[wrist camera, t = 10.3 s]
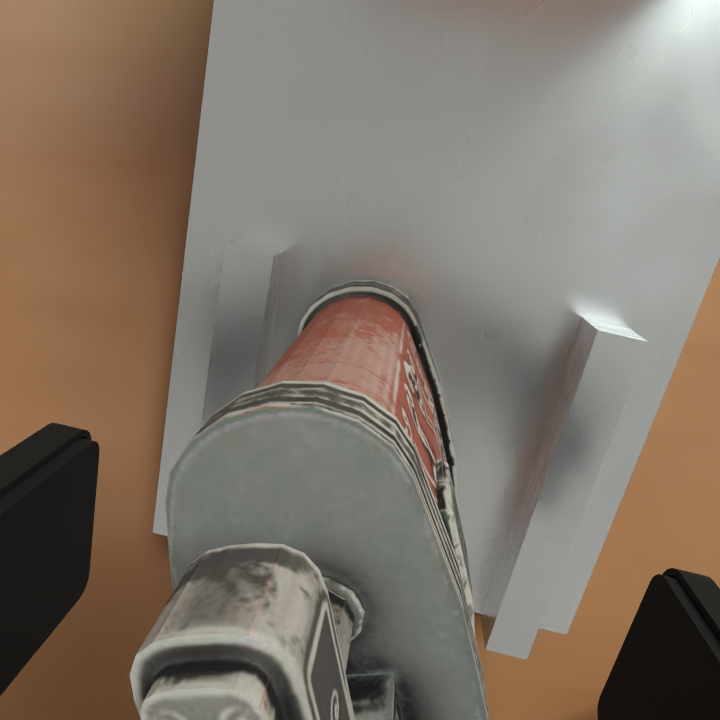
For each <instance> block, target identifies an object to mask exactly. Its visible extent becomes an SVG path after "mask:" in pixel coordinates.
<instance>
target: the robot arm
mask: <svg viewBox="0 0 720 720" xmlns="http://www.w3.org/2000/svg"><path fill="white" fill-rule="evenodd" d="M98 462H99V445H98V443H97V442H95V441H91V435H90V433H89V432H88V431H87V430H83V429H78V428H74V427H70V426H66V425H61V424H57V423H51V424H49V425H47V426H45V427H44V428H42V429H41V430H39V431H37V432H36V433H34V434H33V435H31V436H30V437H28V438H27V439H25V440H24V441H22V442H20V443H19V444H17V445H16V446H14V447H13V448H11V449H10V450H8V451H7V452H5V453H4V454H2V455H0V696H1V694H2V693H3V692H4V691H5V690H6V688H7V687H8V686H9V685H10V683H11V682H12V681H13V680H14V678H15V677H16V676H17V675H18V674H19V672H20V671H21V670H22V669H23V667H24V666H25V665H26V664H27V662H28V661H29V660H30V659H31V657H32V656H33V655H34V654H35V653H36V651H37V650H38V649H39V648H40V646H41V645H42V644H43V643H44V641H45V640H46V639H47V638H48V637H49V635H50V634H51V633H52V632H53V630H54V629H55V628H56V627H57V625H58V624H59V623H60V622H61V621H62V619H63V618H64V617H65V616H66V614H67V613H68V612H69V611H70V609H71V608H72V607H73V606H74V605H75V603H76V602H77V601H78V600H79V598H80V597H81V595H82V593H83V592H84V590H85V587H86V585H87V582H88V578H89V570H90V558H91V546H92V534H93V522H94V510H95V498H96V486H97V474H98ZM598 720H720V589H719V587H718V586H717V585H716V583H715V582H714V581H713V580H712V579H711V578H710V577H707V576H704V575H700V574H695V573H691V572H687V571H683V570H678V569H674V568H670V569H667V570H666V571H665V572H664V573H663V574H662V575H660V574H658V575H655V576H654V577H653V578H652V580H651V581H650V584H649V586H648V588H647V590H646V593H645V595H644V597H643V600H642V602H641V604H640V606H639V609H638V611H637V613H636V616H635V618H634V620H633V622H632V625H631V627H630V629H629V632H628V634H627V636H626V638H625V641H624V643H623V645H622V648H621V650H620V652H619V654H618V657H617V659H616V661H615V664H614V666H613V668H612V671H611V673H610V675H609V677H608V680H607V682H606V684H605V687H604V689H603V691H602V693H601V696H600V699H599V702H598Z"/></svg>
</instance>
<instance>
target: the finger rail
mask: <svg viewBox="0 0 720 720" xmlns="http://www.w3.org/2000/svg"><path fill="white" fill-rule="evenodd" d="M719 257H720V0H214V4H213V13H212V21H211V30H210V39H209V47H208V56H207V65H206V74H205V82H204V91H203V100H202V108H201V117H200V126H199V134H198V143H197V152H196V160H195V169H194V178H193V186H192V195H191V204H190V212H189V221H188V230H187V239H186V247H185V256H184V265H183V273H182V282H181V291H180V299H179V308H178V317H177V325H176V334H175V343H174V351H173V360H172V369H171V377H170V386H169V395H168V404H167V412H166V421H165V430H164V438H163V447H162V456H161V464H160V473H159V482H158V490H157V499H156V508H155V516H154V525H153V533H156V534H160V535H165V536H168V535H167V524H166V512H165V499H166V492H167V486H168V479H169V472H170V470H171V468H172V467H173V465H174V464H175V462H176V461H177V459H178V458H179V456H180V455H181V453H182V452H183V450H184V449H185V447H186V446H187V444H188V443H189V441H190V440H191V439H192V438H193V437H194V436H195V434H196V433H197V432H198V431H199V430H200V429H201V428H202V427H203V426H204V424H205V423H206V422H207V421H208V420H209V419H210V418H211V417H212V416H213V414H214V413H215V412H217V411H218V410H220V409H221V408H223V407H224V406H225V405H227V404H228V403H230V402H231V401H233V400H234V399H236V398H237V397H238V396H240V395H241V394H243V393H244V392H246V391H250V390H253V389H256V388H257V387H258V386H259V384H260V383H261V382H262V381H263V379H264V378H265V377H266V376H267V374H268V373H269V372H270V371H271V369H272V368H273V367H274V366H275V364H276V363H277V362H278V361H279V360H280V358H281V357H282V356H283V355H284V353H285V352H286V351H287V350H288V348H289V347H290V346H291V345H292V343H293V342H294V341H295V340H296V338H297V335H298V330H299V325H300V322H301V320H302V319H303V317H304V316H305V314H306V313H307V311H308V310H309V308H310V307H311V306H312V304H313V303H314V302H315V301H316V300H317V299H318V298H319V297H320V296H322V295H323V294H325V293H326V292H327V291H329V290H330V289H332V288H333V287H335V286H338V285H342V284H345V283H348V282H351V281H376V282H379V283H383V284H386V285H389V286H392V287H394V288H395V289H397V290H398V291H399V292H401V293H402V294H403V295H405V296H406V297H407V298H409V300H410V301H411V303H412V305H413V306H414V308H415V309H416V311H417V313H418V315H419V318H420V321H421V324H422V327H423V329H424V332H425V335H426V338H427V341H428V344H429V347H430V350H431V352H432V355H433V358H434V361H435V364H436V367H437V370H438V373H439V375H440V380H441V384H442V389H443V394H444V398H445V403H446V408H447V413H448V417H449V422H450V427H451V431H452V436H453V442H454V449H455V458H456V477H457V496H458V510H459V515H460V519H461V524H462V529H463V533H464V538H465V542H466V547H467V555H468V563H469V571H470V579H471V587H472V595H473V603H474V612H476V613H480V615H481V622H482V629H483V636H484V644H485V650H489V651H493V652H497V653H501V654H505V655H509V656H513V657H517V658H521V659H525V660H527V658H528V655H529V653H530V650H531V648H532V645H533V642H534V640H535V637H536V635H537V632H538V629H539V628H541V629H545V630H549V631H553V632H557V633H561V634H565V635H567V633H568V630H569V628H570V625H571V623H572V620H573V618H574V615H575V613H576V611H577V608H578V606H579V603H580V601H581V598H582V596H583V593H584V591H585V588H586V586H587V583H588V581H589V578H590V576H591V573H592V571H593V569H594V566H595V564H596V561H597V559H598V556H599V554H600V551H601V549H602V546H603V544H604V541H605V539H606V536H607V534H608V532H609V529H610V527H611V524H612V522H613V519H614V517H615V514H616V512H617V509H618V507H619V504H620V502H621V499H622V497H623V494H624V492H625V490H626V487H627V485H628V482H629V480H630V477H631V475H632V472H633V470H634V467H635V465H636V462H637V460H638V457H639V455H640V452H641V450H642V448H643V445H644V443H645V440H646V438H647V435H648V433H649V430H650V428H651V425H652V423H653V420H654V418H655V415H656V413H657V410H658V408H659V406H660V403H661V401H662V398H663V396H664V393H665V391H666V388H667V386H668V383H669V381H670V378H671V376H672V373H673V371H674V368H675V366H676V364H677V361H678V359H679V356H680V354H681V351H682V349H683V346H684V344H685V341H686V339H687V336H688V334H689V331H690V329H691V326H692V324H693V322H694V319H695V317H696V314H697V312H698V309H699V307H700V304H701V302H702V299H703V297H704V294H705V292H706V289H707V287H708V284H709V282H710V280H711V277H712V275H713V272H714V270H715V267H716V265H717V262H718V260H719Z"/></svg>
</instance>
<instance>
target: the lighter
mask: <svg viewBox="0 0 720 720" xmlns="http://www.w3.org/2000/svg"><path fill="white" fill-rule="evenodd" d="M165 512H166V524H167V535H168V547H169V559H170V570H171V582H172V593H173V594H172V596H171V598H170V599H169V601H168V603H167V604H166V606H165V608H164V609H163V611H162V612H161V614H160V616H159V617H158V619H157V621H156V622H155V624H154V626H153V627H152V629H151V631H150V632H149V634H148V636H147V637H146V639H145V641H144V642H143V644H142V646H141V647H140V649H139V650H138V652H137V654H136V656H135V659H134V662H133V665H132V669H131V672H130V680H131V686H132V691H133V697H134V702H135V705H136V707H137V710H138V713H139V716H140V719H141V720H489V717H488V709H487V701H486V693H485V685H484V677H483V671H482V666H481V662H480V657H479V653H478V648H477V644H476V639H475V624H474V603H473V595H472V587H471V579H470V571H469V563H468V555H467V547H466V542H465V538H464V533H463V529H462V524H461V519H460V515H459V510H458V496H457V477H456V458H455V449H454V442H453V436H452V431H451V427H450V422H449V417H448V413H447V408H446V403H445V398H444V394H443V389H442V384H441V380H440V375H439V373H438V370H437V367H436V364H435V361H434V358H433V355H432V352H431V350H430V347H429V344H428V341H427V338H426V335H425V332H424V329H423V327H422V324H421V321H420V318H419V315H418V313H417V311H416V309H415V308H414V306H413V305H412V303H411V301H410V300H409V298H407V297H406V296H405V295H403V294H402V293H401V292H399V291H398V290H397V289H395V288H394V287H392V286H389V285H386V284H383V283H379V282H376V281H351V282H348V283H345V284H342V285H338V286H335V287H333V288H332V289H330V290H329V291H327V292H326V293H325V294H323V295H322V296H320V297H319V298H318V299H317V300H316V301H315V302H314V303H313V304H312V306H311V307H310V308H309V310H308V311H307V313H306V314H305V316H304V317H303V319H302V320H301V322H300V325H299V330H298V335H297V338H296V340H295V341H294V342H293V343H292V345H291V346H290V347H289V348H288V350H287V351H286V352H285V353H284V355H283V356H282V357H281V358H280V360H279V361H278V362H277V363H276V364H275V366H274V367H273V368H272V369H271V371H270V372H269V373H268V374H267V376H266V377H265V378H264V379H263V381H262V382H261V383H260V384H259V386H258V387H257V388H256V389H253V390H250V391H246V392H244V393H243V394H241V395H240V396H238V397H237V398H236V399H234V400H233V401H231V402H230V403H228V404H227V405H225V406H224V407H223V408H221V409H220V410H218V411H217V412H215V413H214V414H213V416H212V417H211V418H210V419H209V420H208V421H207V422H206V423H205V424H204V426H203V427H202V428H201V429H200V430H199V431H198V432H197V433H196V434H195V436H194V437H193V438H192V439H191V440H190V441H189V443H188V444H187V446H186V447H185V449H184V450H183V452H182V453H181V455H180V456H179V458H178V459H177V461H176V462H175V464H174V465H173V467H172V468H171V470H170V472H169V479H168V486H167V492H166V499H165Z"/></svg>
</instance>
